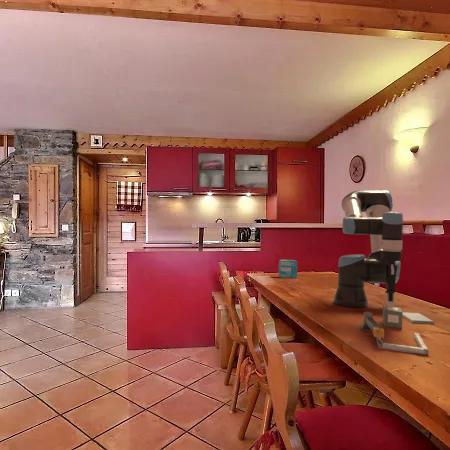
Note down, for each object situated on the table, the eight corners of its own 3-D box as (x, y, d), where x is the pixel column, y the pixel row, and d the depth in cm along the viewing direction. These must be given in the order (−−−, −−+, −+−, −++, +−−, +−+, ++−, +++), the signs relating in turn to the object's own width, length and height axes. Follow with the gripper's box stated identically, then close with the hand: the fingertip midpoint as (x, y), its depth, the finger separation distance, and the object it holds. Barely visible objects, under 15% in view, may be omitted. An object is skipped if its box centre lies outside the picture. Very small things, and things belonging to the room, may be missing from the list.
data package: (279, 277, 233) (279, 260, 233) (278, 276, 238) (279, 259, 238) (297, 278, 233) (297, 260, 233) (296, 277, 237) (296, 260, 237)
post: (359, 326, 126) (360, 310, 126) (374, 328, 125) (375, 311, 125) (360, 330, 122) (360, 313, 122) (375, 332, 120) (375, 315, 120)
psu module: (382, 321, 134) (383, 305, 134) (399, 323, 132) (400, 307, 132) (384, 326, 127) (384, 309, 127) (402, 328, 125) (402, 311, 125)
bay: (374, 332, 120) (375, 328, 120) (418, 337, 115) (418, 333, 115) (378, 348, 104) (378, 343, 104) (428, 355, 100) (428, 350, 100)
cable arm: (364, 322, 121) (364, 315, 121) (373, 323, 121) (373, 316, 121) (374, 336, 106) (374, 329, 106) (384, 337, 106) (384, 330, 106)
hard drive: (434, 321, 131) (419, 312, 144) (412, 320, 132) (399, 311, 144) (434, 325, 131) (419, 316, 144) (412, 324, 132) (399, 315, 145)
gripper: (380, 249, 145) (378, 304, 145) (382, 251, 133) (381, 311, 133) (399, 249, 142) (398, 306, 142) (404, 252, 130) (402, 313, 130)
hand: (390, 308), depth 138 cm, fingers closed
